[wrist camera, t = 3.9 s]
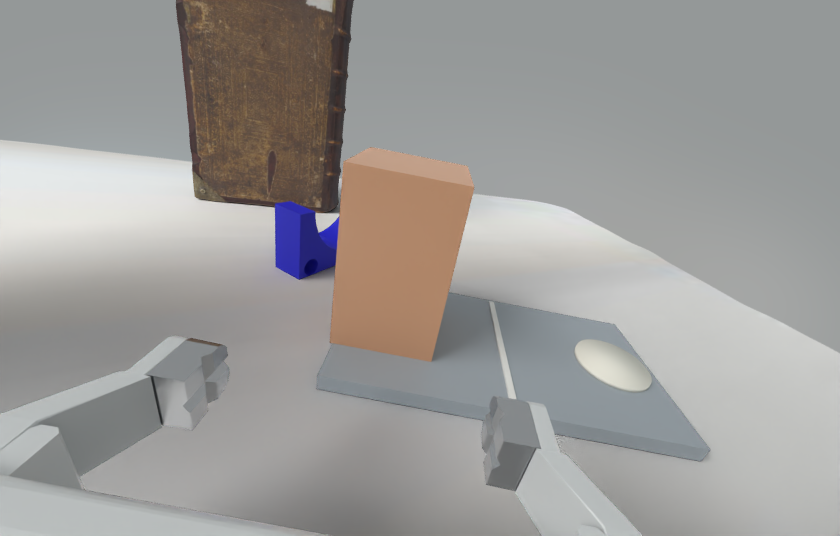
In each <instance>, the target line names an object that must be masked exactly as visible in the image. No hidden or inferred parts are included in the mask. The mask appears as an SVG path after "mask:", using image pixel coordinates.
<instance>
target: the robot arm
mask: <svg viewBox="0 0 840 536" xmlns="http://www.w3.org/2000/svg"><path fill="white" fill-rule="evenodd" d="M227 356H228V353H227V347H226V346H224V345H221V344H217V343H212V342H207V341H203V340H198V339H193V338H187V337H182V336H178V335H173V336H169V337H168V338H166V339H165V340H164V341H163V342H161V343H160V344H159V345H158V346H157V347H155V348H154V349H153V350H152V351H150V352H149V353H148V354H147V355H145V356H144V357H143V358H142V359H141V360H139V361H138V362H137V363H136V364H134V365H133V366H132V367H131V368H130V369H128V370H127V371H126V372H125V371H118V372H115V373H112V374H110V375H107V376H104V377H101V378H98V379H96V380H93V381H90V382H87V383H84V384H82V385H79V386H76V387H73V388H71V389H68V390H65V391H62V392H59V393H57V394H54V395H51V396H48V397H45V398H43V399H40V400H37V401H34V402H31V403H29V404H26V405H23V406H20V407H18V408H15V409H12V410H9V411H6V412H4V413H1V414H0V536H332V535H326V534H321V533H316V532H310V531H305V530H299V529H294V528H288V527H283V526H277V525H272V524H266V523H261V522H256V521H250V520H245V519H239V518H234V517H228V516H223V515H217V514H212V513H207V512H201V511H196V510H190V509H185V508H180V507H174V506H169V505H163V504H158V503H152V502H147V501H142V500H136V499H131V498H125V497H120V496H115V495H109V494H104V493H98V492H93V491H87V490H85V489H84V487H83V485H82V482H81V480H80V478H79V477H80V476H82V475H83V474H85V473H87V472H88V471H90V470H92V469H93V468H95V467H97V466H98V465H100V464H102V463H103V462H105V461H107V460H108V459H110V458H111V457H113V456H115V455H116V454H118V453H120V452H121V451H123V450H125V449H126V448H128V447H130V446H131V445H133V444H135V443H136V442H138V441H140V440H141V439H143V438H145V437H146V436H148V435H150V434H151V433H153V432H155V431H156V430H158V429H160V428H161V427H162V426H169V427H175V428H181V429H188V430H193V429H194V428H195V427H196V425H197V424H198V423H199V422H200V420H201V419H202V418H203V417H204V415H205V414H206V413H207V412H208V403H210V402H212V401H214V400H216V399H218V398H219V396H220V395H221V394H222V392H223V391H224V389H225V387H226V385H227V382H228V379H229V367H228V365H227V364H226V363H225V362H224V359H225V358H226V357H227ZM489 407H490V413H488V414H486V415H485V418H484V421H483V425H482V432H481V441H482V449H483V450H484V451H485V453H486V457H485V460H484V462H483V463H484V472H485V481H486V485H489V486H494V487H498V488H503V489H508V490H512V491H516V492H515V493H516V495H517V497H518V498H519V500H520V502H521V503H522V505H523V506H524V508H525V510H526V511H527V513H528V515H529V516H530V518H531V519H532V521H533V523H534V524H535V526H536V528H537V529H538V531H539V533H540V534H541V536H643V535H642V534H641V533H640V532H639V531H638V530H637V529H636V528H635V527H634V525H633V524H632V523H631V522H630V521H629V520H628V519H627V518H626V517H625V516H624V515H623V514H622V513H621V512H620V511H619V510H618V508H617V507H616V506H615V505H614V504H613V503H612V502H611V501H610V500H609V499H608V498H607V497H606V496H605V495H604V494H603V493H602V491H601V490H600V489H599V488H598V487H597V486H596V485H595V484H594V483H593V482H592V481H591V480H590V479H589V478H588V477H587V476H586V474H585V473H584V472H583V471H582V470H581V469H580V468H579V467H578V466H577V465H576V464H575V463H574V462H573V461H572V460H571V459H570V457H569V456H568V455H567V454H564V453H561V451H560V448H559V445H558V442H557V439H556V436H555V433H554V430H553V427H552V424H551V421H550V418H549V415H548V412H547V409H546V407H545V406H544V404H540V403H534V402H528V401H522V400H516V399H511V398H505V397H500V396H493V397H492V399H491V401H490V404H489ZM161 425H162V426H161Z"/></svg>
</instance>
